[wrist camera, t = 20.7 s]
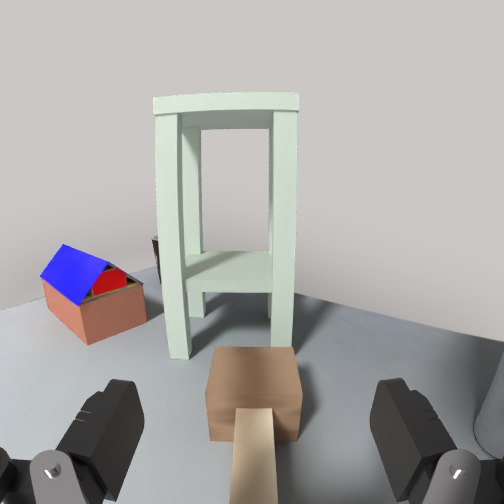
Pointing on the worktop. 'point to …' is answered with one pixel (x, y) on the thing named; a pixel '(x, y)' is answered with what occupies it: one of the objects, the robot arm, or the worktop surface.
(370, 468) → the worktop surface
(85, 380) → the worktop surface
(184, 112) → the tall stand
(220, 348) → the cube on tan board
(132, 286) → the house
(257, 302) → the worktop surface
